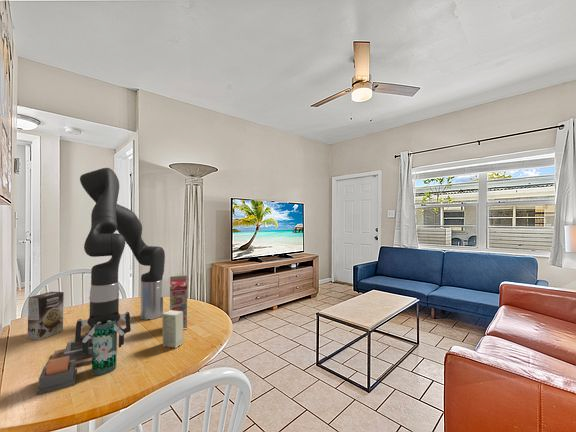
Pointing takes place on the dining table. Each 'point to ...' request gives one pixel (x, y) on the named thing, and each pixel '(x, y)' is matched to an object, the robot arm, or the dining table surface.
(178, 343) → the skincare box
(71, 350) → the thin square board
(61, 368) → the button
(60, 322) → the coffee box
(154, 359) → the dining table surface
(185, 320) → the juice carton
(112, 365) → the can
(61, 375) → the button housing
